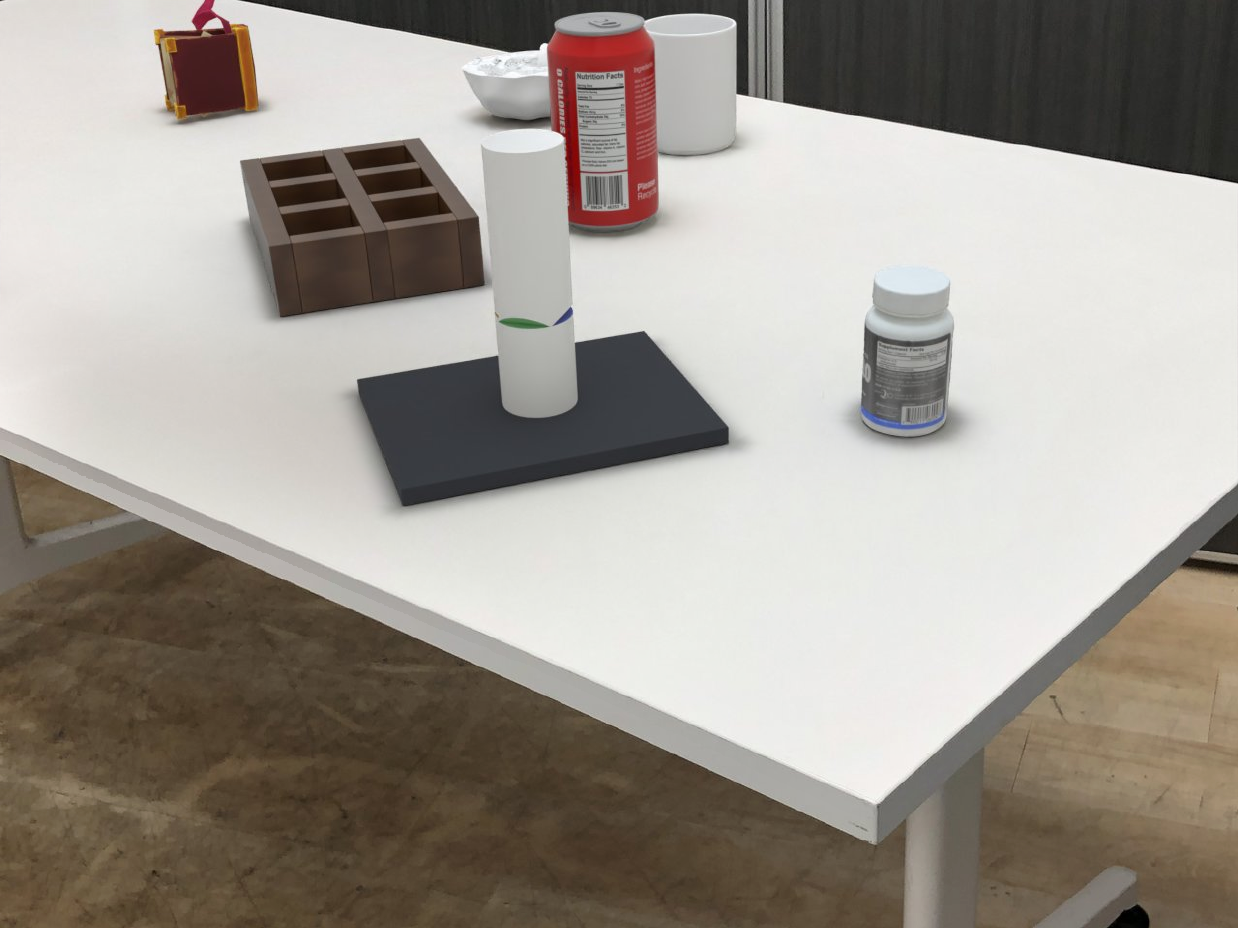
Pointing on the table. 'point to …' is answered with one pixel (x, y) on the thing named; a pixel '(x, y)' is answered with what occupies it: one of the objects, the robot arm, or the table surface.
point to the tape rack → (360, 226)
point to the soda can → (605, 118)
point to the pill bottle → (907, 351)
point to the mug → (694, 82)
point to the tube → (531, 270)
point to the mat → (533, 420)
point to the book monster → (207, 67)
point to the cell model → (512, 83)
